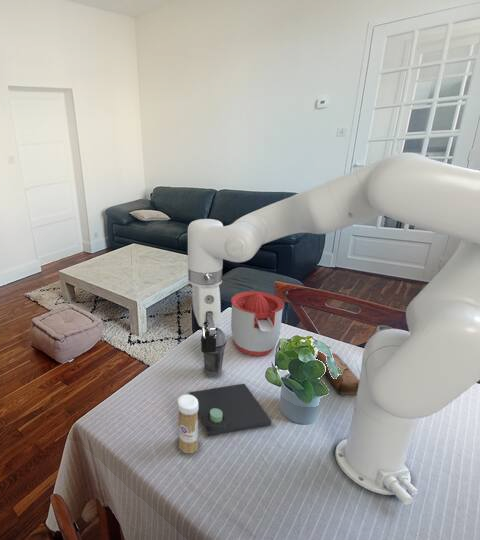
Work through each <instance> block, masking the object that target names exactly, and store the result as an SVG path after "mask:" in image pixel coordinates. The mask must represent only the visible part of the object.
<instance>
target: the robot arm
mask: <svg viewBox="0 0 480 540" xmlns="http://www.w3.org/2000/svg"><path fill="white" fill-rule="evenodd" d="M381 216H382V217H383V216H384V217H386V218H389V219H391V220H394V221H396V222H400V223H403V224H406V225H409V226H412V227H416V228H419V229H422V230H425V231H429V232H433V233H436V234H440V235H444V236H448V237H452V238H454V239H458V240H460V241H459V244H458V247H457V248H456V250H455V252H454V253H453V255H452V256H451V257H450V258H449V259H448V261H447V262H446V263H445V264H444V266H443V267H442V268H441V269H440V270H439V272H437V274H435V275H434V277H433V278H432V279H431V280H430V281H429V282H428V283H427V284H426V285H425V286H424V287H423V289H421V290H420V291H419V293H417V295H416V296H414V297H413V299H412V300H411V301H410V302H409V303H408V305H407V307H406V309H405V321H406V324H407V328H408V329H407V330H408V331H407V330H403V329H400V328H393V329H386V330H382V331H380V332H377V333H376V334H375V333H374V334H373V335H371V336H370V337H369V339H368V340H367V342H366V343H365V345H364V348H363V353H362V357H361V366H360V374H359V379H360V380H359V385H358V390H357V394H356V396H355V400H354V404H353V409H352V413H351V418H350V423H349V429H348V434H347V438H345V439H343V440H340V441H339V442H338V443H337V445H336V448H335V452H334V453H335V454H334V455H335V461H336V462H337V464H338V466H339V468H340V469H341V471H342V472H343V473H344V474H345V475H346V476H347V477H348V478H349V479H350V480H352V481H353V482H354V483H356V485H357V484H358V485H359V486H360V487H362V488H364V489H365V490H369V491H371V492H373V493H377V494H380V495H385V496H396V497H397V498H398V499H399V501H400V502H401V503H402V504H403V505H404V506H409V505H411V504H413V503H414V501H415V500H414V498H413V497H412V496H416V495H418V494H419V492H420V491H419V490H418V489H417V487H415V486H414V485H413V484H412V483H411V479H412V477H411V473H410V469H409V468H408V467H407V465H406V459H407V456H408V453H409V450H410V447H411V443H412V439H413V437H414V434H415V429H416V426H417V424H418V421H419V419H423V418H427V417H429V416H432V415H434V414H436V413H438V412H440V411H442V410H443V409H444V408H446V407H447V406H448V405H450V404H451V403H452V402H453V401H455V400H456V399H457V398H459V397H460V396H461V395H462V394H464V393H465V392H467V390H469V389H471V387H473V386H474V385H475V384H476V383H478V382H479V381H480V170H476V169H472V168H468V167H463V166H460V165H458V166H457V165H455V164H450V163H447V162H443V161H439V160H437V159H432V158H429V157H428V156H427V157H426V156H425V155H422V154H420V153H416V152H399V153H394V154H391V155H389V156H386V157H383V158H381V159H377V160H376V161H373V162H370V163H369V164H366V165H364V166H362V167H359V168H357V169H354V170H352V171H350V172H347V173H345V174H342V175H340V176H338V177H335V178H333V179H330V180H328V181H325V182H323V183H321V184H318V185H316V186H314V187H311V188H309V189H305V190H304V191H301V192H298V193H296V194H293V195H291V196H289V197H286V198H283V199H281V200H279V201H275V202H273V203H270V204H268V205H266V206H263V207H261V208H259V209H256V210H254V211H251V212H249V213H247V214H245V215H243V216H241V217H239V218H237V219H236V220H235V221H233V222H232V223H230V224H228V225H224V224H223V222H222V221H220V220H219V219H218V220H217V219H213V218H199V219H196V220H193V221H191V222H190V223H189V225H188V226H187V282H188V284H190V285H191V287H192V288H191V289H192V290H191V291H192V294H191V296H192V297H191V298H192V299H191V300H192V310H193V313H194V314H193V329H194V330H195V331H201V333H202V334H203V336H202V334H201V338H200V350H201V353H202V354H203V353H206V352H215V351H216V328H215V327H217V328H220V326H221V324H222V318H221V317H222V315H221V313H222V312H221V311H222V310H221V309H222V308H221V291H220V285H221V284H222V283H223V271H224V270H223V267H224V266H223V265H224V260H225V261H228V262H231V263H232V262H233V263H245V262H247V261H249V260H251V259H252V258H253V257H254V256H255V255H256V254H257V252H258V251H259V250H260V248H261V247H262V246H263V245H265V244H267V243H271V242H273V241H276V240H279V239H282V238H284V237H285V238H286V237H288V236H292V235H296V234H303V233H305V234H313V235H326V234H331V233H333V232H336V231H339V230H342V229H346V228H348V227H351V226H353V225H354V226H355V225H356V224H360V223H363V222H365V221H369V220H372V219H375V218H379V217H381ZM214 323H215V324H214ZM207 328H208V331H207V332H205V330H206V329H207ZM408 492H409V493H410V494H411V495H410V494H409V493H408Z"/></svg>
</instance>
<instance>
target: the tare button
mask: <svg viewBox="0 0 480 540" xmlns="http://www.w3.org/2000/svg"><path fill="white" fill-rule="evenodd" d="M222 417H223V413H222V411H221V410H220V409H217V408H213V409H211V410H210V419H211V421H213V422H215V423H219V422H221V421H222Z"/></svg>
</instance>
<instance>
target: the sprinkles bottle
mask: <svg viewBox="0 0 480 540" xmlns="http://www.w3.org/2000/svg"><path fill="white" fill-rule="evenodd" d="M176 405H177V410H178V411H177V412H178V416H177V417H178V424H177V425H178V427H177V428H178V448H179V449H180V450H181V451H182V452H183V453H184V454H194V453H196V452H197V451H198V449H199V443H198V441H199V440H198V438H199V416H198V400H197V398H196V397H194V396H192V395H190V393H187V394H182V395H180V396H179V397H178V398H177V403H176Z"/></svg>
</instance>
